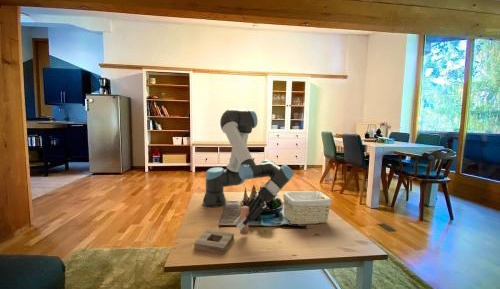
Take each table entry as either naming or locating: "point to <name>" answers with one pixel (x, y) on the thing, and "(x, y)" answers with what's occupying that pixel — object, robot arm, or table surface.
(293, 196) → the storage basket
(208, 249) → the socket block
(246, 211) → the pin
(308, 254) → the table surface
